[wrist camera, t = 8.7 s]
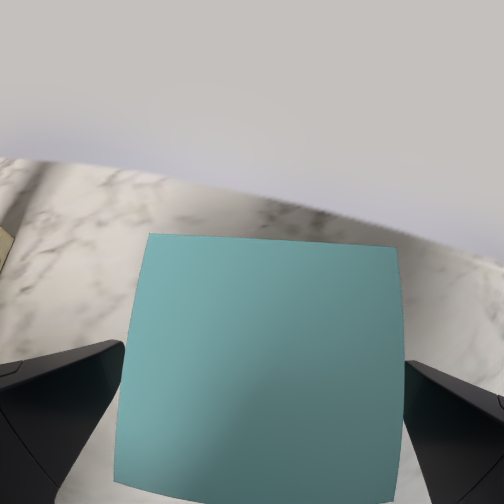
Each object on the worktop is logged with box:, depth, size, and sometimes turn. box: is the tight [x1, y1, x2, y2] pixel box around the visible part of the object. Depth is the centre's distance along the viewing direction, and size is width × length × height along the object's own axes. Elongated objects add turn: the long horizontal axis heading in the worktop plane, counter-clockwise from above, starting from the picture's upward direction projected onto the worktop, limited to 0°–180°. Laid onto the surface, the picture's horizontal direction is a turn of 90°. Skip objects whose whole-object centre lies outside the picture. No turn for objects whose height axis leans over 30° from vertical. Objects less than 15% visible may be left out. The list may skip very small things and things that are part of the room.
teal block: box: [113, 233, 404, 504], centre depth 11 cm, size 6×6×12 cm
